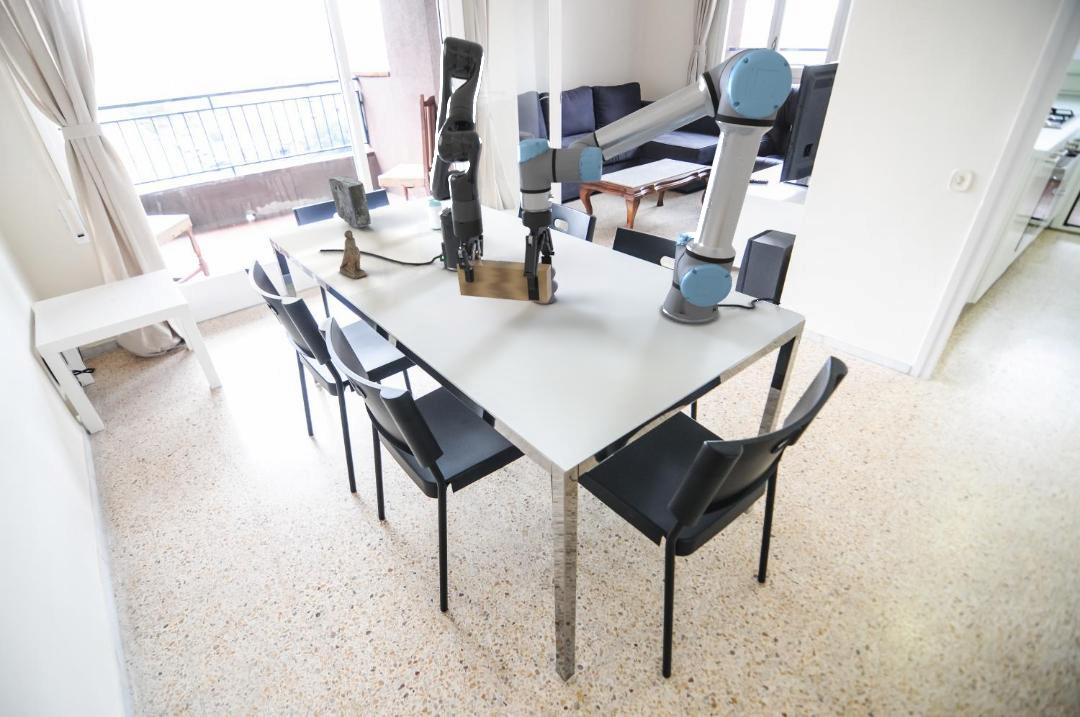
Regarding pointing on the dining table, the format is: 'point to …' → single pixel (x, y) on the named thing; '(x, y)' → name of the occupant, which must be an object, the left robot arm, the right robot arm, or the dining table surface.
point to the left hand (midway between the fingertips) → (473, 277)
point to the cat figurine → (552, 286)
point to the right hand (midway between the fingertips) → (541, 289)
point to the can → (435, 213)
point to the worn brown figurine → (351, 258)
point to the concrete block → (350, 200)
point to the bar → (504, 281)
